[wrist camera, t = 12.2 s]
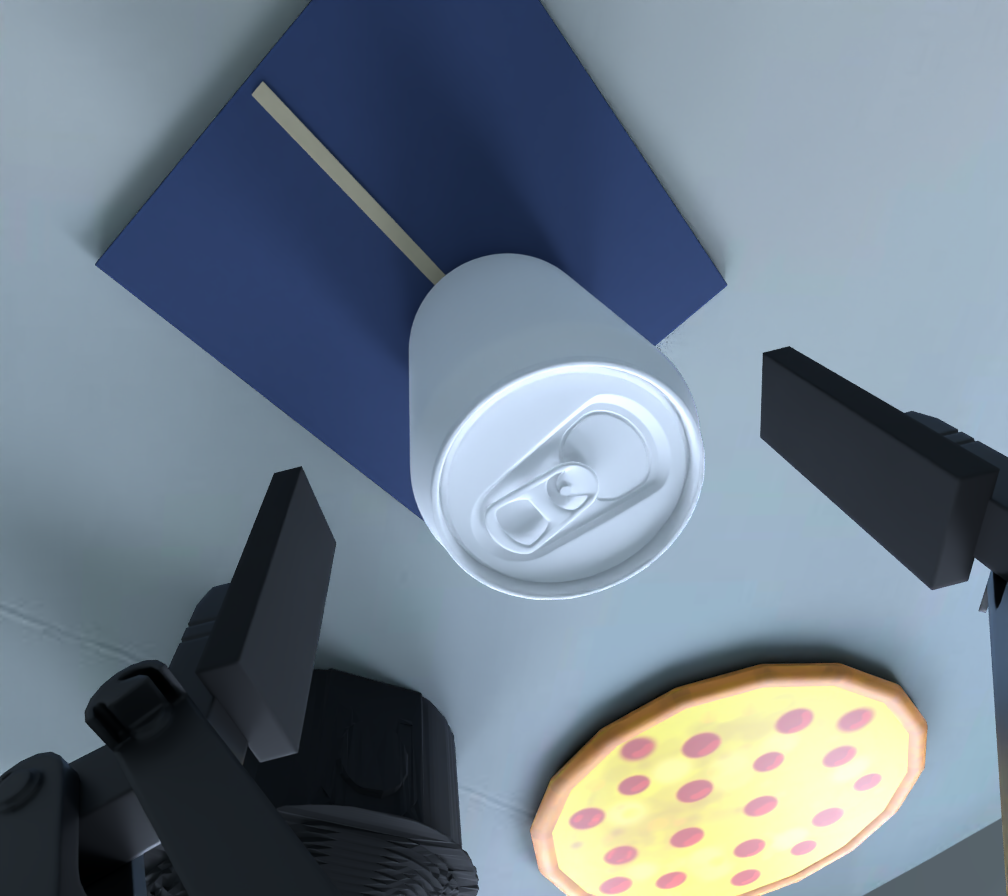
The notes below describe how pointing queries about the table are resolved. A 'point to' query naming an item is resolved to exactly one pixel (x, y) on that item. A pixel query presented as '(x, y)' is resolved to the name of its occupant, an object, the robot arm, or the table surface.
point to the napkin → (397, 207)
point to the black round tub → (364, 793)
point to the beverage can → (545, 432)
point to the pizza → (731, 784)
